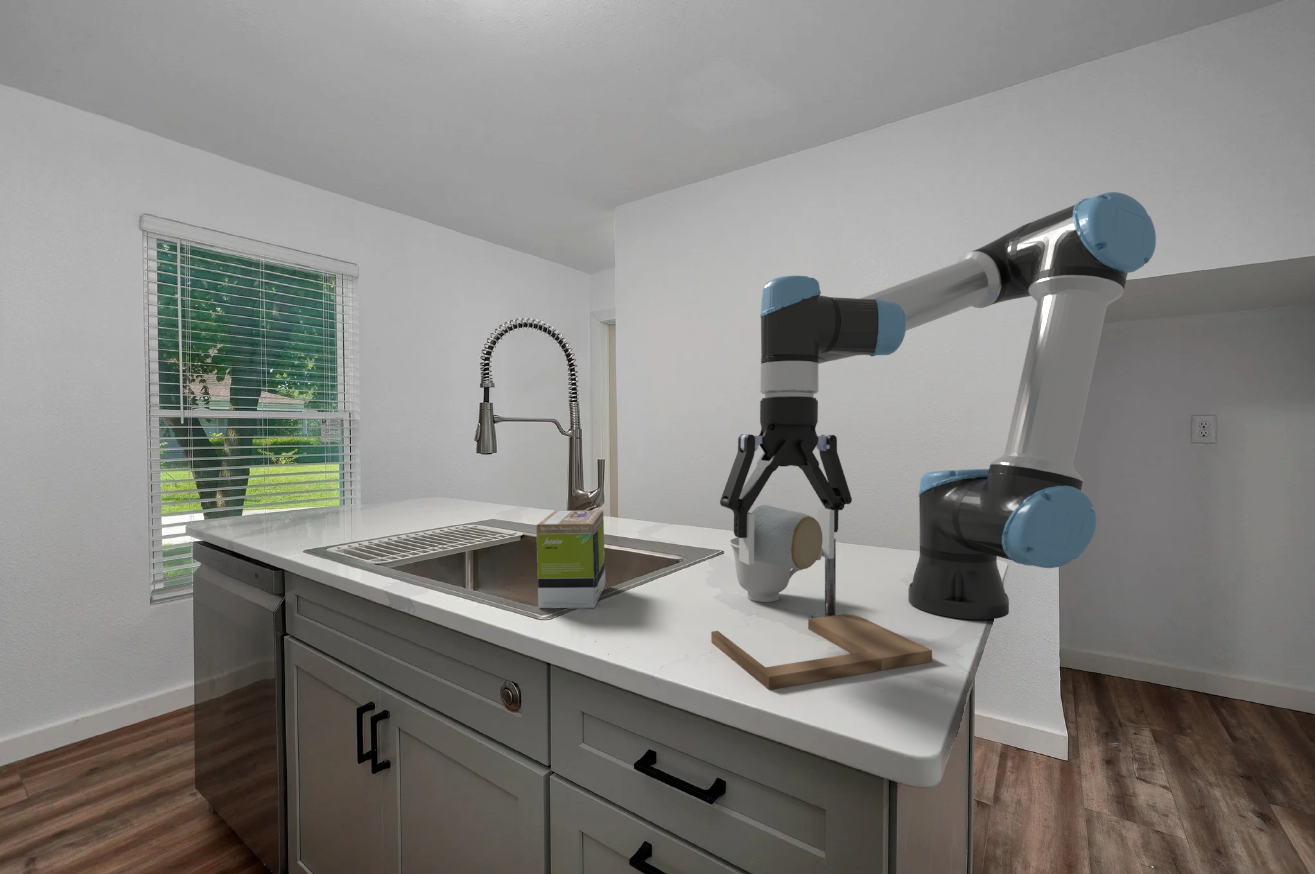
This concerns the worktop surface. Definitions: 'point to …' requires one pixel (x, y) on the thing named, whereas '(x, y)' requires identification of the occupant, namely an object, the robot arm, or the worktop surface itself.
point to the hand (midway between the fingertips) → (786, 559)
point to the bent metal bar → (830, 586)
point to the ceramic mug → (786, 538)
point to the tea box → (570, 559)
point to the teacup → (761, 577)
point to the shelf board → (849, 632)
